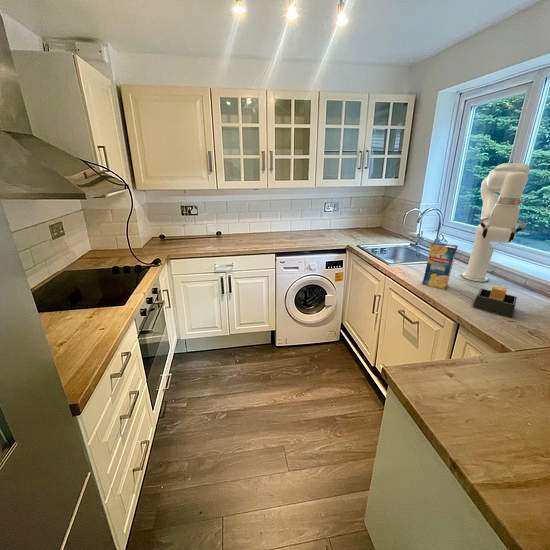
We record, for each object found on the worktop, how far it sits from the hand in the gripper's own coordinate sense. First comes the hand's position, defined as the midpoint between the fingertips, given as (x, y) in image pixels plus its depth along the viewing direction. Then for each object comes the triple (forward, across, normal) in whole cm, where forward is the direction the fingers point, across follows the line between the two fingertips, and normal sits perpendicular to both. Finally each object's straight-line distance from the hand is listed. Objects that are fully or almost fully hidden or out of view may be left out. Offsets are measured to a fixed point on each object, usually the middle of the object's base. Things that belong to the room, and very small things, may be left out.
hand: (496, 239), depth 133 cm
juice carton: (+27, -7, +13) cm, 31 cm away
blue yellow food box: (+28, +20, +2) cm, 35 cm away
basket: (+28, -7, +13) cm, 32 cm away
